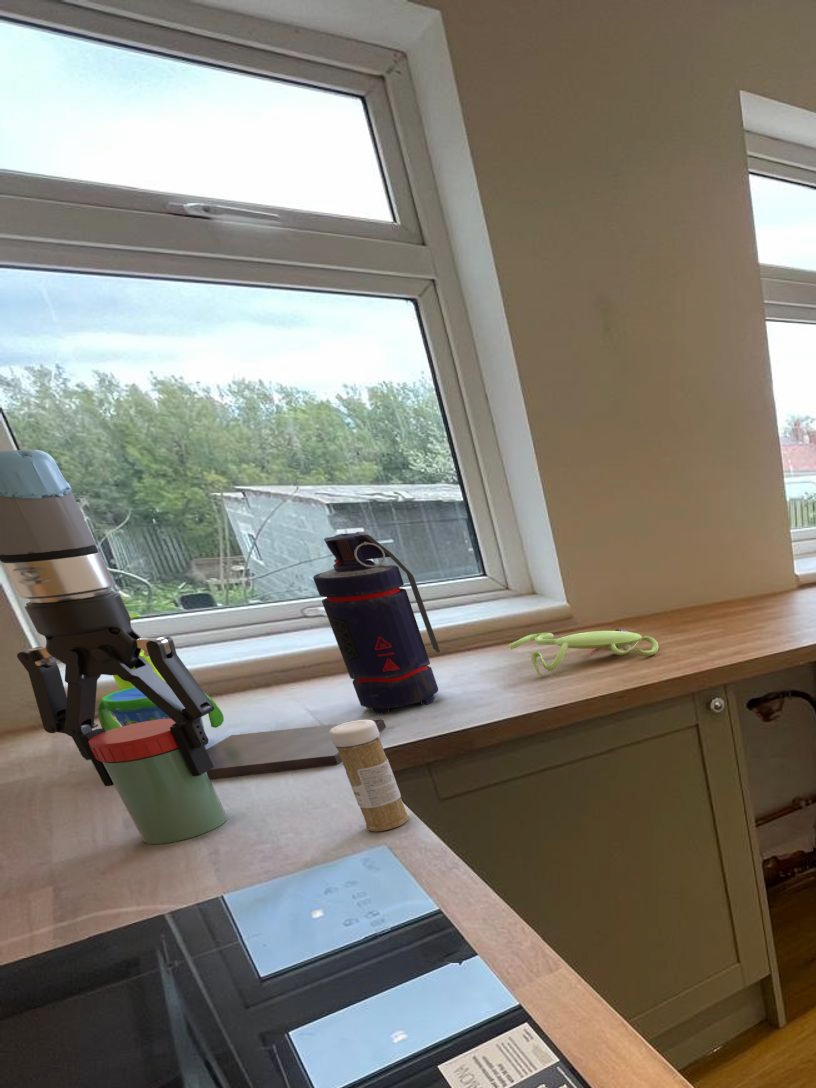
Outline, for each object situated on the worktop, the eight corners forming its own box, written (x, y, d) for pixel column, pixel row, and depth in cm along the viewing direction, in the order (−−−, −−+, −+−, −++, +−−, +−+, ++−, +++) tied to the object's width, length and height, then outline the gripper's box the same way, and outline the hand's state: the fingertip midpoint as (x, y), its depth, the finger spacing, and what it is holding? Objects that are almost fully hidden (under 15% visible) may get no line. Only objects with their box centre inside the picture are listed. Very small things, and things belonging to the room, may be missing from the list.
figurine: (512, 660, 171) (505, 634, 169) (645, 637, 184) (639, 613, 182) (521, 681, 157) (513, 653, 154) (664, 654, 170) (658, 628, 168)
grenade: (366, 719, 140) (300, 542, 128) (359, 703, 148) (296, 536, 136) (458, 699, 148) (404, 531, 136) (446, 685, 156) (395, 526, 144)
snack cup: (253, 734, 135) (227, 676, 131) (198, 760, 125) (169, 698, 121) (157, 740, 134) (129, 681, 130) (95, 766, 125) (62, 704, 121)
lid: (76, 766, 94) (66, 748, 93) (131, 739, 102) (122, 722, 101) (163, 757, 96) (154, 739, 95) (210, 731, 104) (202, 714, 103)
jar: (126, 848, 99) (74, 751, 94) (171, 819, 106) (125, 727, 101) (202, 838, 100) (155, 742, 95) (241, 810, 108) (199, 719, 103)
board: (165, 784, 117) (161, 774, 116) (234, 743, 131) (231, 735, 131) (337, 764, 121) (334, 755, 121) (386, 727, 136) (383, 718, 135)
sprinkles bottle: (364, 824, 102) (325, 725, 97) (407, 812, 105) (371, 715, 100) (370, 836, 99) (330, 735, 94) (414, 823, 102) (377, 724, 97)
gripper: (-77, 611, 86) (32, 801, 95) (157, 593, 90) (240, 777, 99) (-14, 597, 93) (82, 775, 102) (201, 581, 97) (276, 754, 106)
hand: (160, 776), depth 100 cm, fingers closed on lid, 8 cm apart
